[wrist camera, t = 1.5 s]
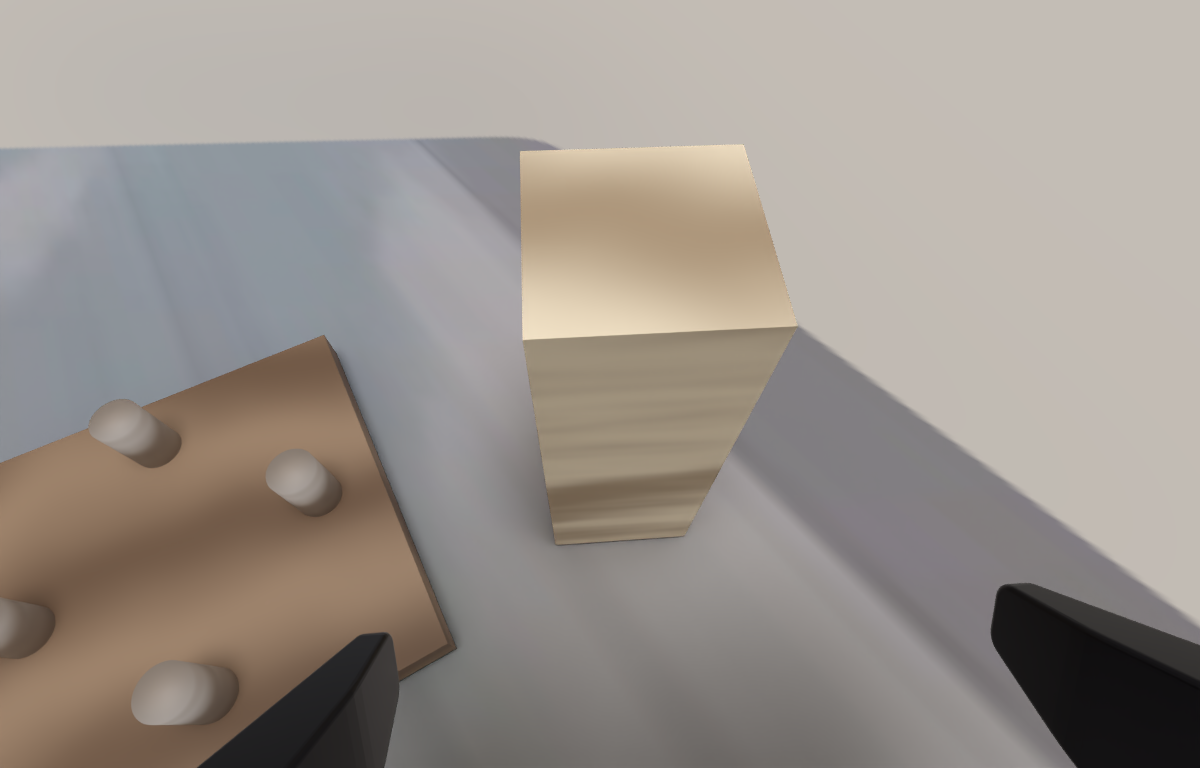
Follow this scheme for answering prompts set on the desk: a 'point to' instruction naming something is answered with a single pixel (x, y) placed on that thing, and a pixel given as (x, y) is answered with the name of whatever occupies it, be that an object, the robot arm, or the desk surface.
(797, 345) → the desk surface
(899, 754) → the desk surface
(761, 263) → the birch block
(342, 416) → the board
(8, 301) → the desk surface
